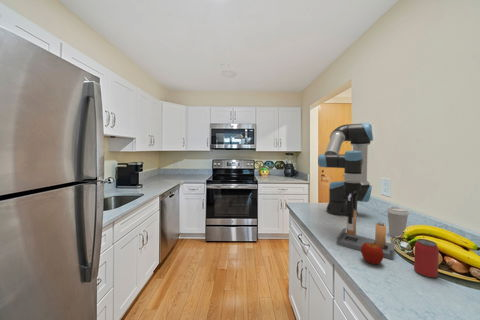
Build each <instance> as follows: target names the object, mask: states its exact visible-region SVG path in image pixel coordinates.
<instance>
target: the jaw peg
mask: <svg viewBox="0 0 480 320" xmlns="http://www.w3.org/2000/svg"><path fill="white" fill-rule="evenodd" d="M356 213H357V212H356V210H355V209H354V214H353V216H354V230H353V231H352V230H348V229H347V228H346V233H347V234H348V235H353V236H354V235H357V215H356Z"/></svg>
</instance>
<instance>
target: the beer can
mask: <svg viewBox="0 0 480 320" xmlns="http://www.w3.org/2000/svg"><path fill="white" fill-rule="evenodd" d="M439 255H440V251H439V248H438V244H437V242H435V241H433V240H429V239H425V238H417V240H416V242H415V244H414V258H413V259H414V261H413V263H414V264H413V269H414V271H415V272H416V273H418V274H419V275H421V276H424V277H425V278H426V277H427V278H433V279H435V278H437V277H438V276H439Z"/></svg>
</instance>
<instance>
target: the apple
mask: <svg viewBox="0 0 480 320" xmlns="http://www.w3.org/2000/svg"><path fill="white" fill-rule="evenodd" d="M360 252H361V256H362V258H363V260H364V261H366V262H367V263H369V264H370V265H371V264H372V265H379V264H381V263H382V262H383V259H384V254H383V251H382V249H381V248H380V247H379V246H378V245H376V244H373V243H364V244H363V245H362V246H361V251H360Z"/></svg>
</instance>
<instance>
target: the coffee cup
mask: <svg viewBox="0 0 480 320" xmlns="http://www.w3.org/2000/svg"><path fill="white" fill-rule="evenodd" d="M386 213H387V222H388V223H387V224H388V235H389V236H390V237H391V238H394V237H395V236H400V235H402V234H403V231H404V230H405V229H407V222H408V218H409V215H410V213H409V211H408V209H407V208H404V207H399V206H389V207H388V208H387V209H386Z"/></svg>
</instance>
